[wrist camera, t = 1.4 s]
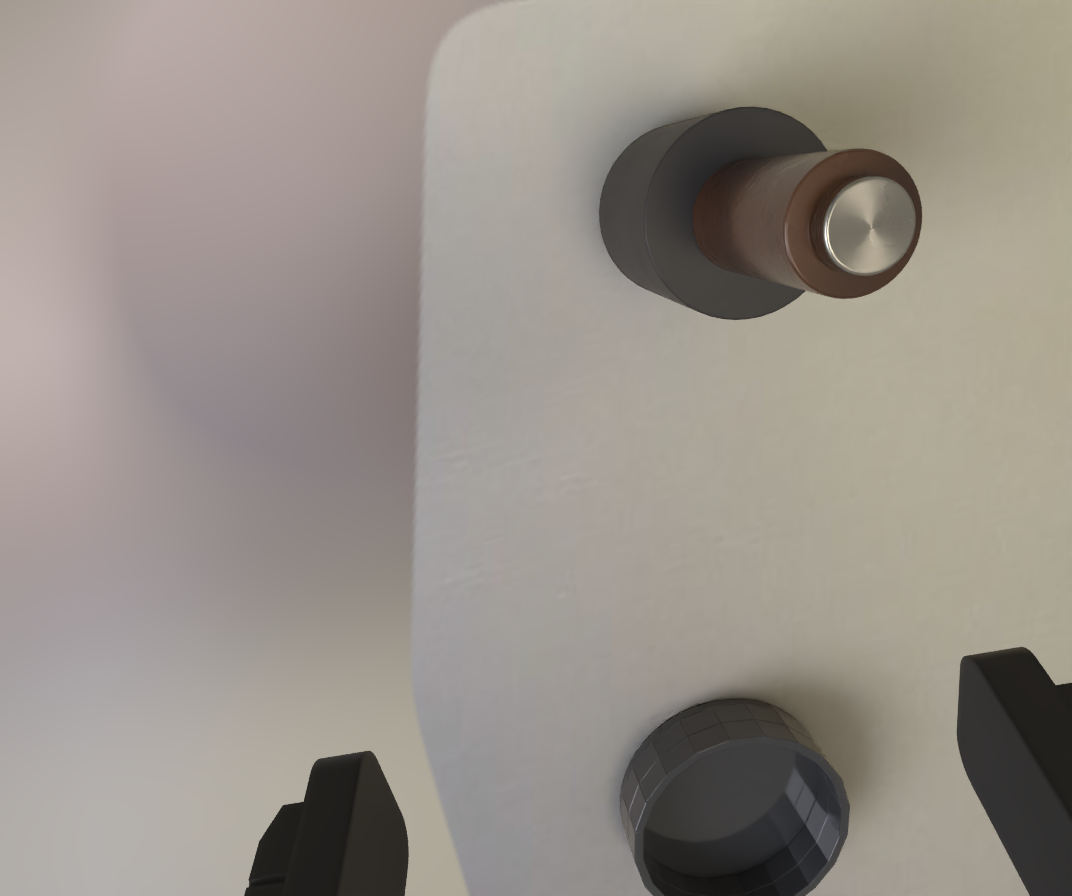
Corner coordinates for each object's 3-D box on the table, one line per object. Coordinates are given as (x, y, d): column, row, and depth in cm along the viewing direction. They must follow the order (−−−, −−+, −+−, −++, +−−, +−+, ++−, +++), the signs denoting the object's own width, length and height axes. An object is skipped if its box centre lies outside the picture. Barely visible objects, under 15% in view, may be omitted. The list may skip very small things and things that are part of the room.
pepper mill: (677, 255, 27) (777, 280, 20) (712, 144, 27) (831, 126, 19) (775, 284, 28) (908, 320, 21) (812, 177, 27) (965, 173, 20)
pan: (593, 860, 42) (606, 909, 39) (657, 681, 40) (676, 718, 37) (778, 888, 44) (803, 937, 41) (849, 719, 42) (881, 757, 39)
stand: (578, 269, 34) (617, 289, 28) (628, 100, 33) (682, 77, 26) (728, 313, 35) (801, 342, 29) (783, 152, 34) (873, 143, 27)
